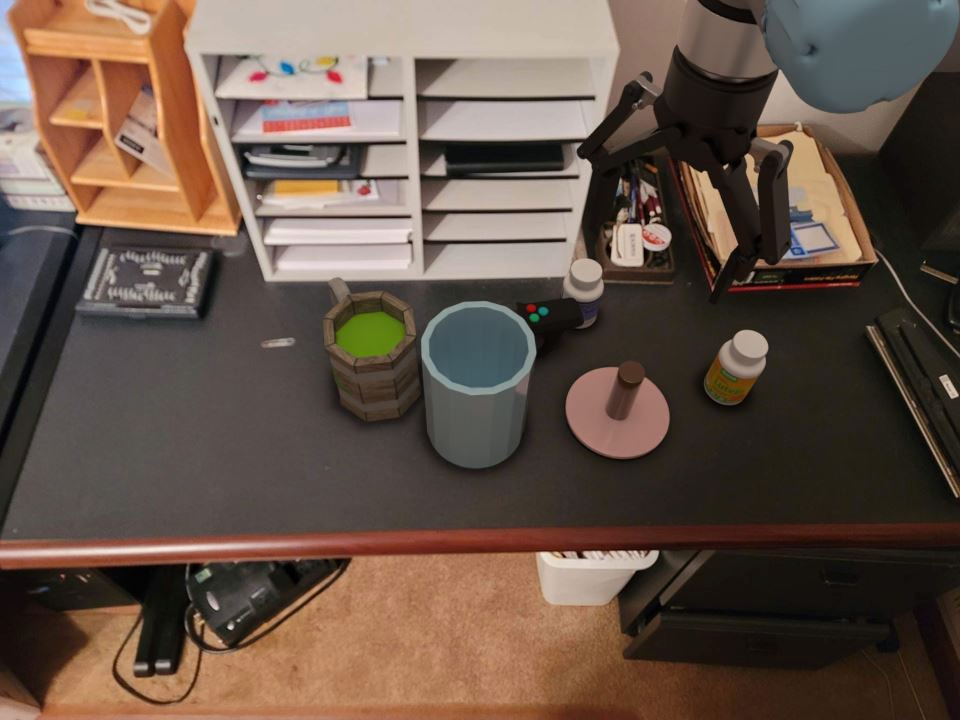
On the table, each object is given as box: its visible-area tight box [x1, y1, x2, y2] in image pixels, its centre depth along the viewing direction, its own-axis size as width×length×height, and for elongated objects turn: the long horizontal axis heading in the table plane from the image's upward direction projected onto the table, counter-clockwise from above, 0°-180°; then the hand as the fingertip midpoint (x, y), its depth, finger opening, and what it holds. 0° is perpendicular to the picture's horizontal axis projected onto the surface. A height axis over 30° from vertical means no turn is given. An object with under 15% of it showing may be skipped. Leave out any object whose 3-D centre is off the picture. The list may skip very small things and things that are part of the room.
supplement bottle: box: [703, 329, 769, 406], centre depth 84 cm, size 5×5×10 cm
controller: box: [500, 297, 584, 358], centre depth 87 cm, size 4×12×10 cm, turn 103°
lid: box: [564, 360, 671, 460], centre depth 82 cm, size 13×13×10 cm
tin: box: [420, 300, 537, 469], centre depth 77 cm, size 12×12×16 cm
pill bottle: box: [559, 257, 605, 329], centre depth 91 cm, size 5×5×9 cm
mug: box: [322, 276, 422, 423], centre depth 83 cm, size 16×11×12 cm
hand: (656, 258), depth 67 cm, fingers open, 13 cm apart
